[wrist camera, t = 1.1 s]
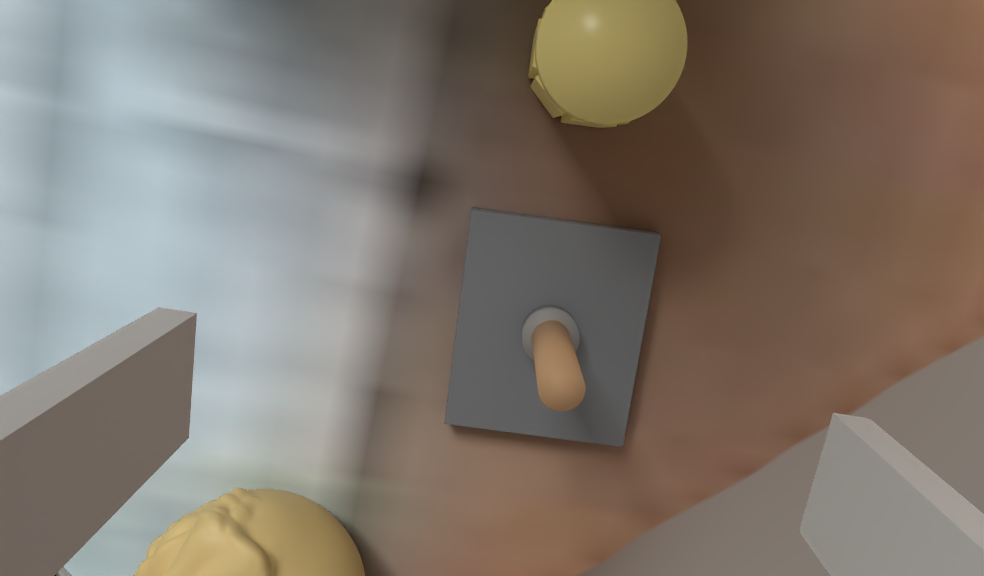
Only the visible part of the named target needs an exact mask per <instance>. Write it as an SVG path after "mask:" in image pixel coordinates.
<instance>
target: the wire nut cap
mask: <svg viewBox="0 0 984 576" xmlns="http://www.w3.org/2000/svg"><path fill="white" fill-rule="evenodd" d="M686 55H687V30H686V25H685V21H684V17H683V14H682V12H681V10H680V7H679V5H678V4H677V2H676V0H552V1H551V3H550V4H549V5H548V6H547V7H546V8H545V9H544V12H543V15H542V18H539V20H538V24H537V27H536V30H535V34H534V37H533V44H532V52H531V59H530V66H529V73H528V78H531V79H534V80H533V82H532V84H531V86H530V87H531V89H532V90H533V92H534V93H535V94H536V96H537V97H538V98H539V100H540V101H541V102H542V104H543V105H544V107H545V108H546V109H547V111H548V112H549V113H550V115H551V116H552V118H555V117H559V116H561V121H560V123H567V124H574V125H582V126H589V127H597V128H603V127H617V125H621V124H628V123H629V122H630V121H632V120H634V119H637V118H639V117H641V116H643V115H645V114H647V113H649V112H650V111H652V110H653V109H655V108H656V107H657V106H658V105H659V104H661V103H662V102H663V101H664V100H665V99H666V97H667V96H668V95H669V94H670V93H671V91H672V90H673V88H674V87H675V85H676V83H677V82H678V80H679V78H680V76H681V73H682V70H683V68H684V64H685V60H686Z"/></svg>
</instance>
